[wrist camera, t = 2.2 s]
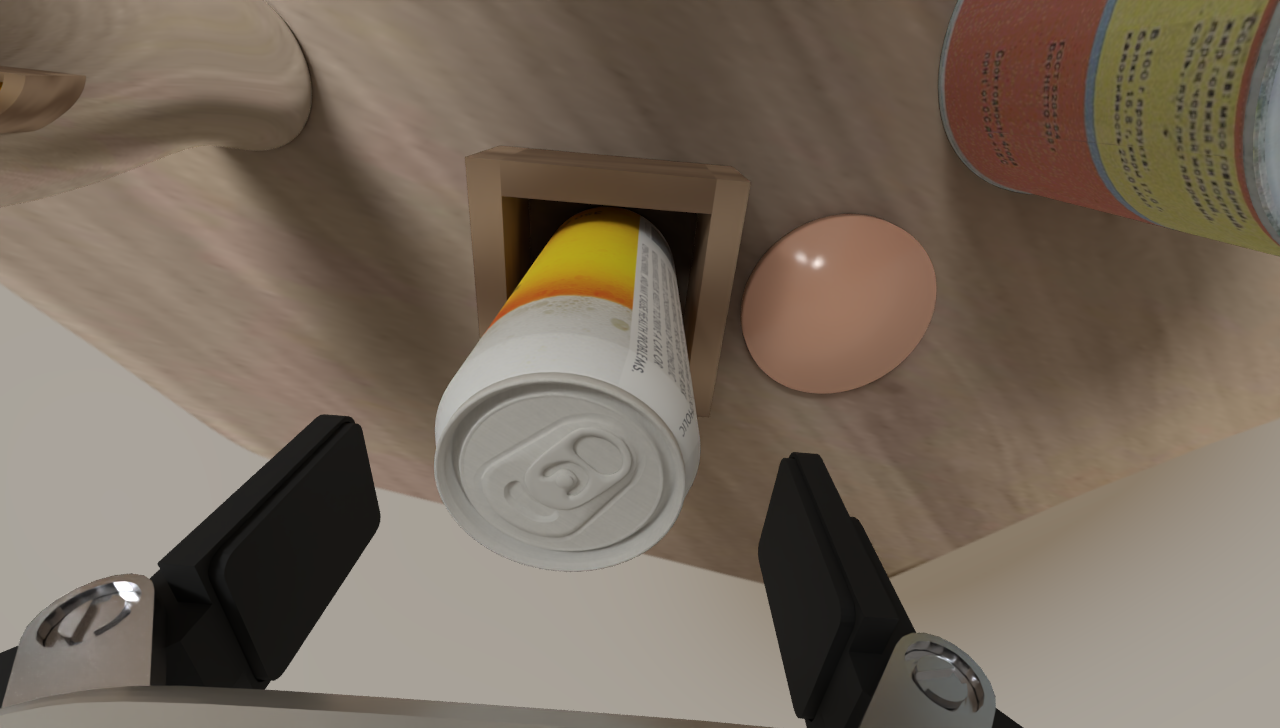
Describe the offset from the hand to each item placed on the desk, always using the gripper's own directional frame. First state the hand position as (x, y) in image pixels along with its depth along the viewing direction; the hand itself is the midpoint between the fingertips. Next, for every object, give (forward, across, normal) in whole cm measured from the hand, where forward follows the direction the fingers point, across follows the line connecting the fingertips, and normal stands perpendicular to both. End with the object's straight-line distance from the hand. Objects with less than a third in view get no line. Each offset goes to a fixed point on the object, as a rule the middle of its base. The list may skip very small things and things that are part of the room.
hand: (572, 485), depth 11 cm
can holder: (+14, 0, -1) cm, 14 cm away
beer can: (+15, 0, -1) cm, 15 cm away
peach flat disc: (+14, -11, 0) cm, 18 cm away
